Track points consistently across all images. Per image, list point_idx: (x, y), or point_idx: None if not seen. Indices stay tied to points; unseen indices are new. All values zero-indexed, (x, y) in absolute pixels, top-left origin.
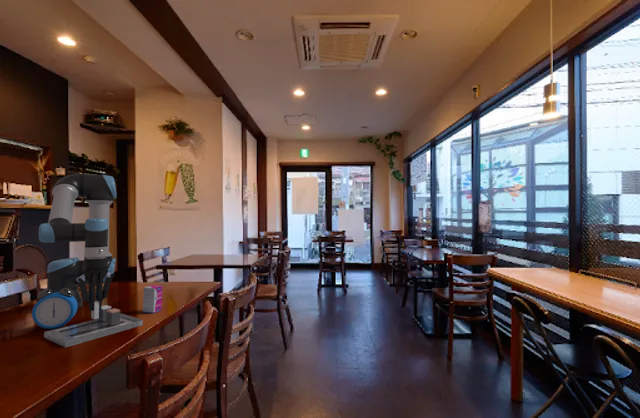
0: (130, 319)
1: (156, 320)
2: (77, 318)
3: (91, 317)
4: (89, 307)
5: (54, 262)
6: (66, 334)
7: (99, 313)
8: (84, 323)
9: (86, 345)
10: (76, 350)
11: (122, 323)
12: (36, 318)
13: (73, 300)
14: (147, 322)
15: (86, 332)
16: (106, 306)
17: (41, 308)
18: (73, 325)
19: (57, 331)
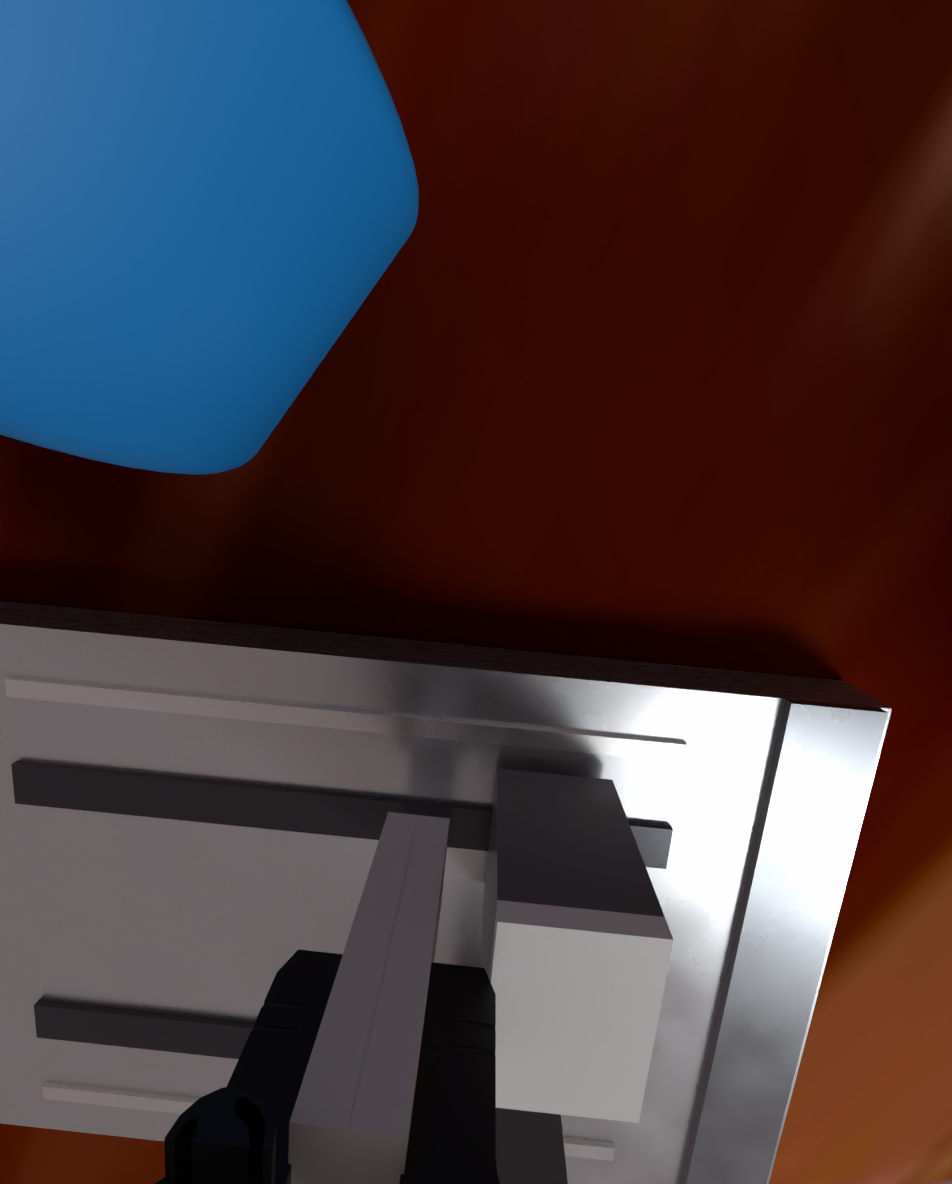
0: (703, 1108)
1: (922, 1133)
2: (582, 28)
3: (385, 826)
4: (259, 1035)
5: None
6: (34, 938)
7: (491, 890)
8: (336, 726)
9: (140, 1151)
10: (48, 1177)
11: (569, 1121)
12: None
13: (119, 218)
14: (828, 1106)
15: (190, 1055)
16: (603, 1042)
17: None
18: (218, 671)
19: (5, 739)
